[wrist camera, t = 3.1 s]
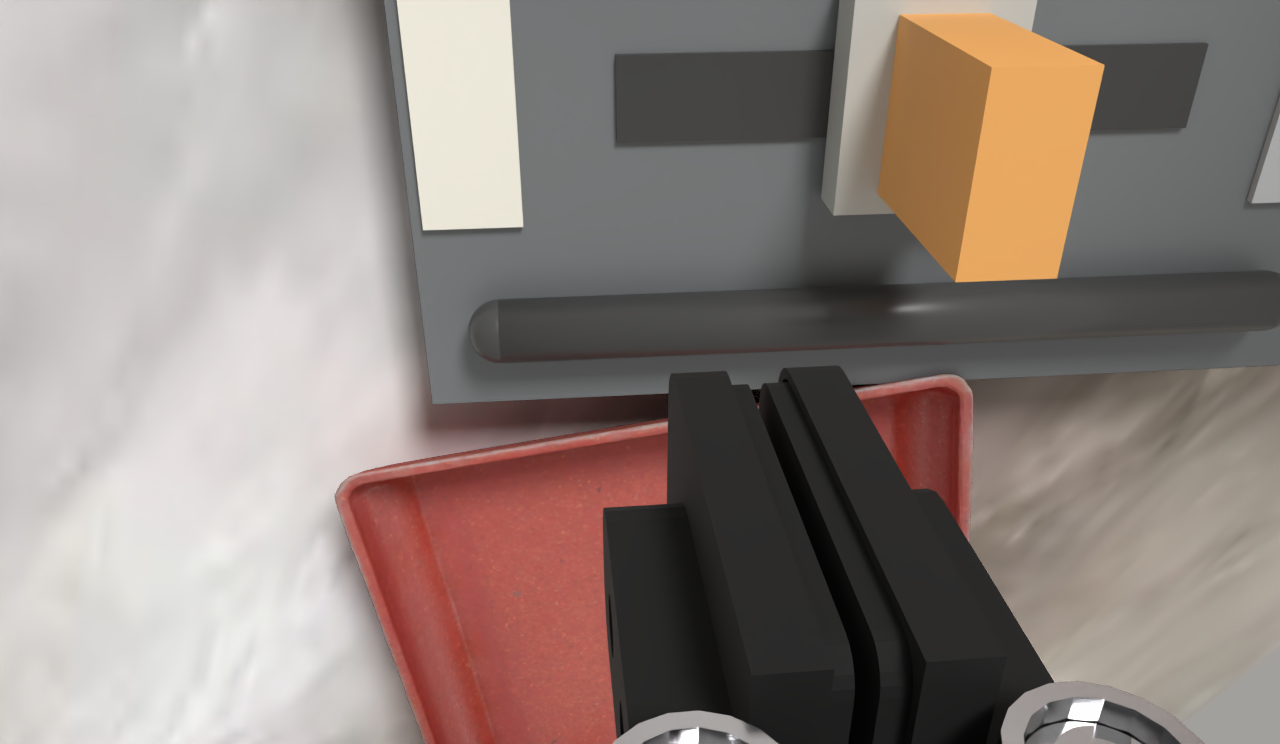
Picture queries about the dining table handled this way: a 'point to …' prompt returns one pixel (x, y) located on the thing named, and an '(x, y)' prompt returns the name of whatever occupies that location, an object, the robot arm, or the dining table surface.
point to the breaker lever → (960, 130)
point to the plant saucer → (558, 560)
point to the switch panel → (808, 202)
